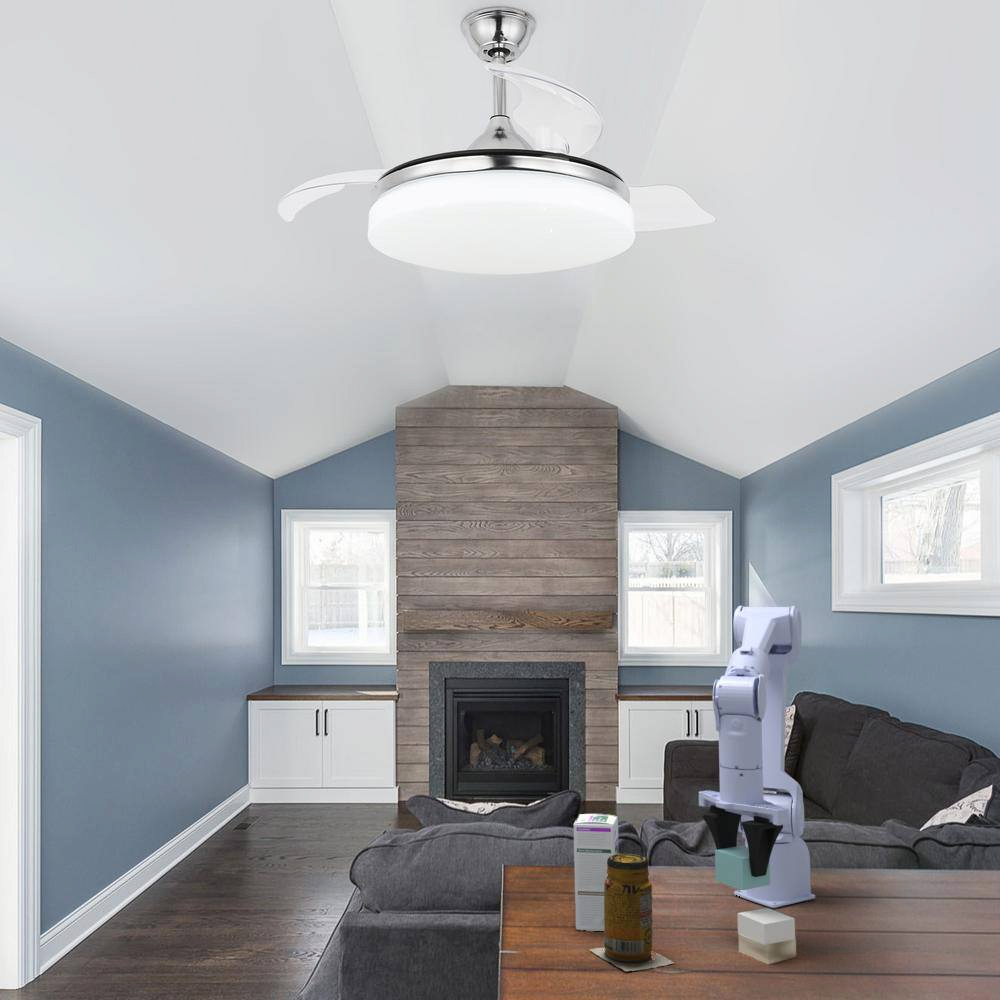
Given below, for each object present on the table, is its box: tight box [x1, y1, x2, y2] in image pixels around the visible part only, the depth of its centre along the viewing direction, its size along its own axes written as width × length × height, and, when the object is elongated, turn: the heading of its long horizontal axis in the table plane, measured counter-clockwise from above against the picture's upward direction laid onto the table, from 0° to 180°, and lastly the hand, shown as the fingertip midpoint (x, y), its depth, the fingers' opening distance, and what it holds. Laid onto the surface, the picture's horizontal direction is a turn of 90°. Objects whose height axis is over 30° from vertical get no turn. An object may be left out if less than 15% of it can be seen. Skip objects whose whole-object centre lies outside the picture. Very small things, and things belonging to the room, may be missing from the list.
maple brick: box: [737, 933, 797, 965], centre depth 125 cm, size 5×5×2 cm
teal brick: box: [714, 845, 770, 890], centre depth 130 cm, size 5×5×4 cm
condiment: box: [589, 853, 675, 972], centre depth 124 cm, size 7×8×12 cm
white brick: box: [736, 907, 796, 945], centre depth 125 cm, size 5×5×2 cm
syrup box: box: [573, 813, 620, 932], centre depth 136 cm, size 6×6×14 cm
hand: (743, 870), depth 130 cm, fingers closed on teal brick, 5 cm apart
